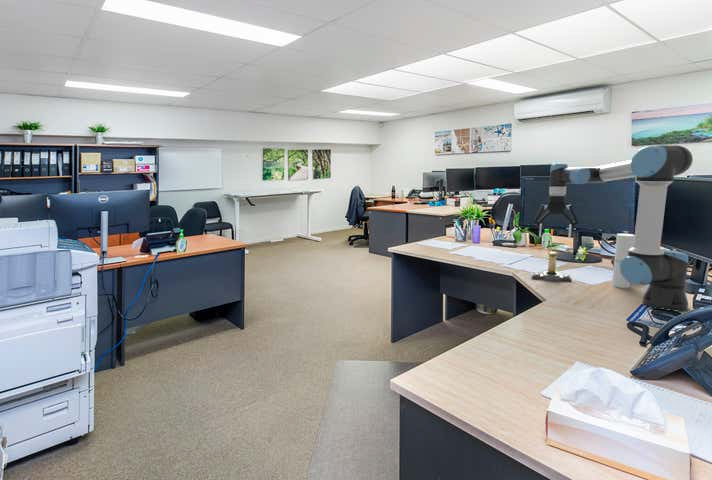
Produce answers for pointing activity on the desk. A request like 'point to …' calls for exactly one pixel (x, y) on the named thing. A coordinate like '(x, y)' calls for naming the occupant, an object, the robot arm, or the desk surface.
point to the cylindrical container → (621, 258)
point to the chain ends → (551, 276)
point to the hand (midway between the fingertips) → (554, 237)
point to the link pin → (552, 263)
